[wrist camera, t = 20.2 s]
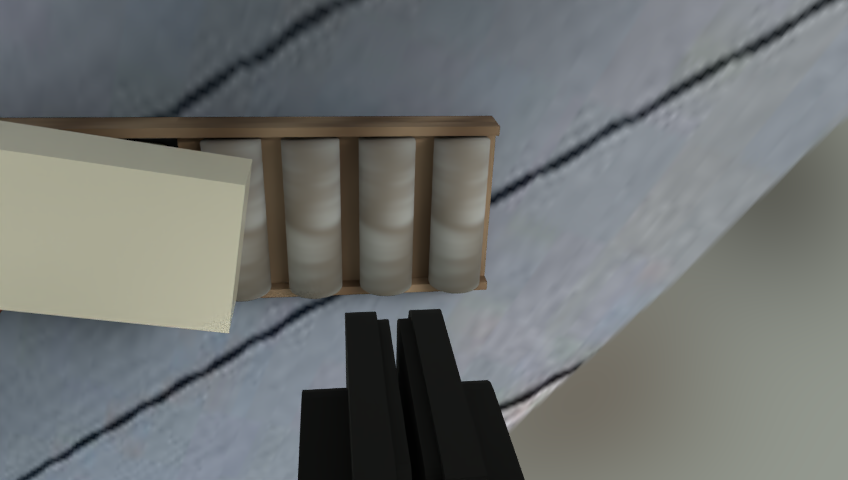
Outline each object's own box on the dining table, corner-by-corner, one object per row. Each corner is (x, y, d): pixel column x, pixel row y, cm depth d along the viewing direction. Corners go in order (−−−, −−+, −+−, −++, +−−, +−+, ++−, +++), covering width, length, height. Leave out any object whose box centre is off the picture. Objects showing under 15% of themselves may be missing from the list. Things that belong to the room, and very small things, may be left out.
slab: (252, 159, 34) (245, 185, 31) (236, 297, 38) (228, 333, 35) (-14, 118, 32) (-50, 142, 29) (-6, 269, 35) (-38, 305, 32)
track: (491, 116, 39) (521, 154, 33) (479, 273, 43) (503, 331, 37) (-51, 117, 35) (-125, 161, 29) (-4, 289, 39) (-60, 356, 34)
